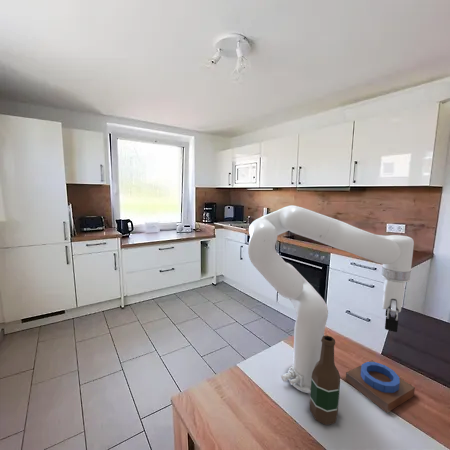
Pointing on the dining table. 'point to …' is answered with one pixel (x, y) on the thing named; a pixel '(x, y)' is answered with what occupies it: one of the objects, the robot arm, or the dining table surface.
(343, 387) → the dining table surface
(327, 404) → the beer bottle
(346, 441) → the dining table surface
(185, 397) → the dining table surface
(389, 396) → the platform
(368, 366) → the ring
